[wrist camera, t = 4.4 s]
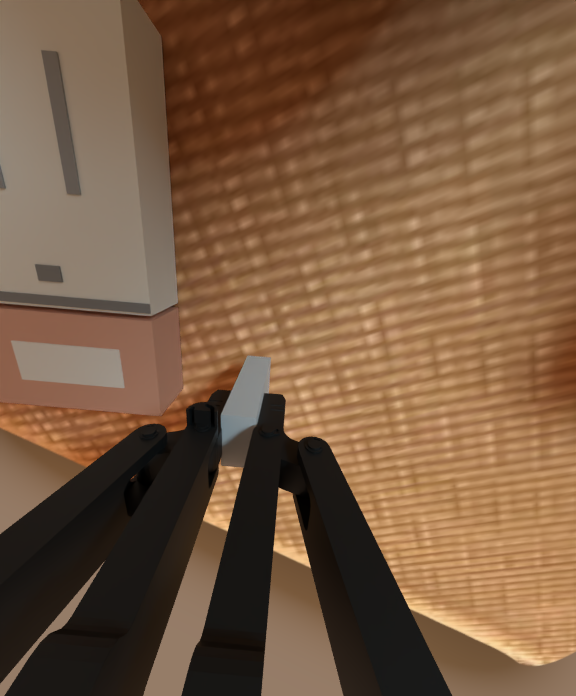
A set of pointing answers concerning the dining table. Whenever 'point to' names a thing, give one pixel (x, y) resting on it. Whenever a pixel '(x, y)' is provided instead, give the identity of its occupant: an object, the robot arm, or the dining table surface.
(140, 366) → the stub
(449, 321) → the dining table surface
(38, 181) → the two-slot toaster
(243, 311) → the dining table surface
